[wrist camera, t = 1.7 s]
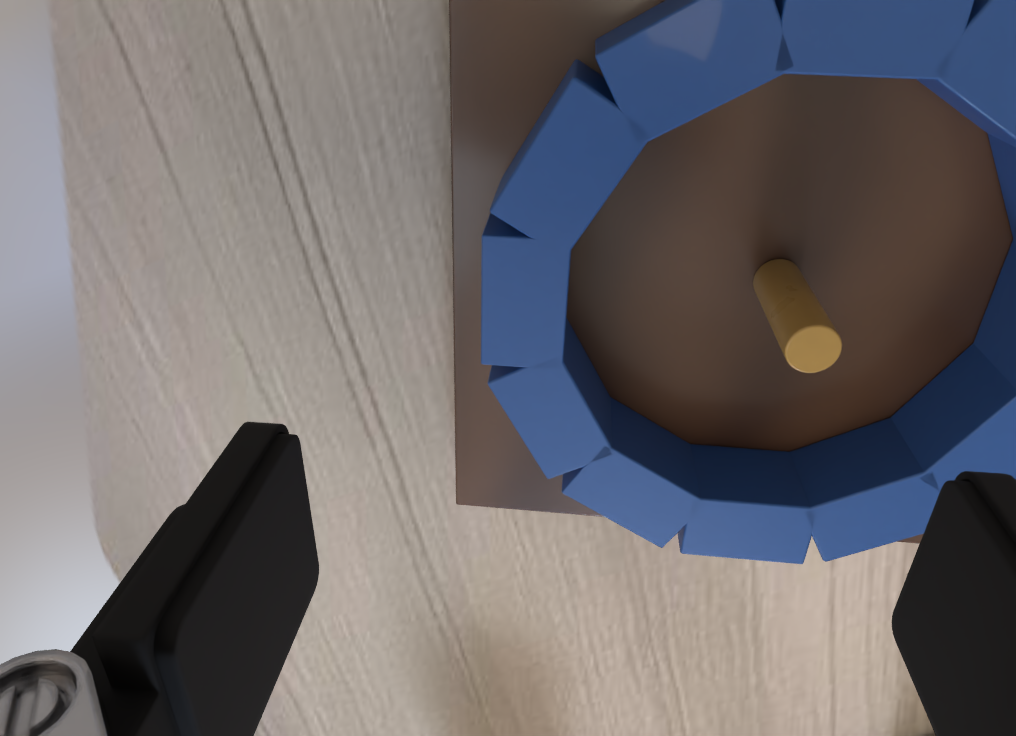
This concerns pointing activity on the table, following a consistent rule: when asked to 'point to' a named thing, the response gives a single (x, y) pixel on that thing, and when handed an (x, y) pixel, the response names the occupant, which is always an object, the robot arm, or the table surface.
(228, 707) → the robot arm
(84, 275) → the table surface
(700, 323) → the platform
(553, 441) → the ring
